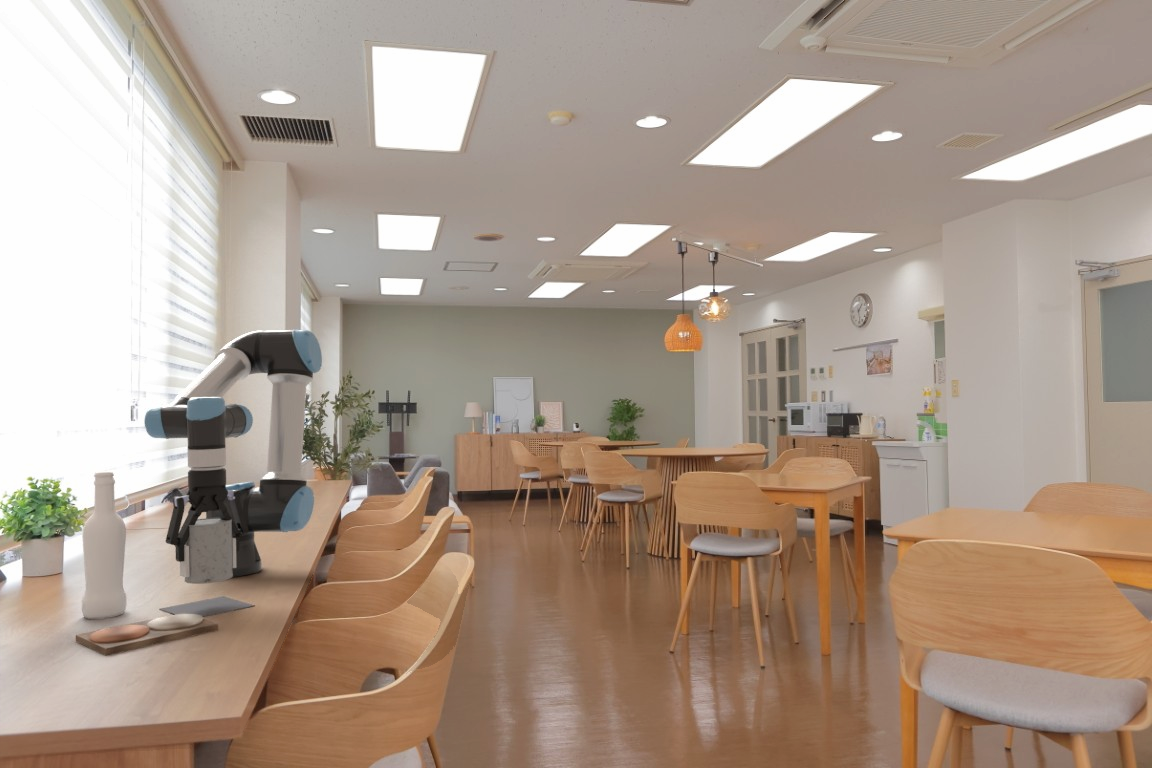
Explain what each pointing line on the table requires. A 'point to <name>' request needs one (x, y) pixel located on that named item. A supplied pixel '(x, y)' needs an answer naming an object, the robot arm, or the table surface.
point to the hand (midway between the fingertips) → (208, 571)
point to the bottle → (104, 554)
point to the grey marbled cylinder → (210, 551)
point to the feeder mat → (208, 606)
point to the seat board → (145, 633)
